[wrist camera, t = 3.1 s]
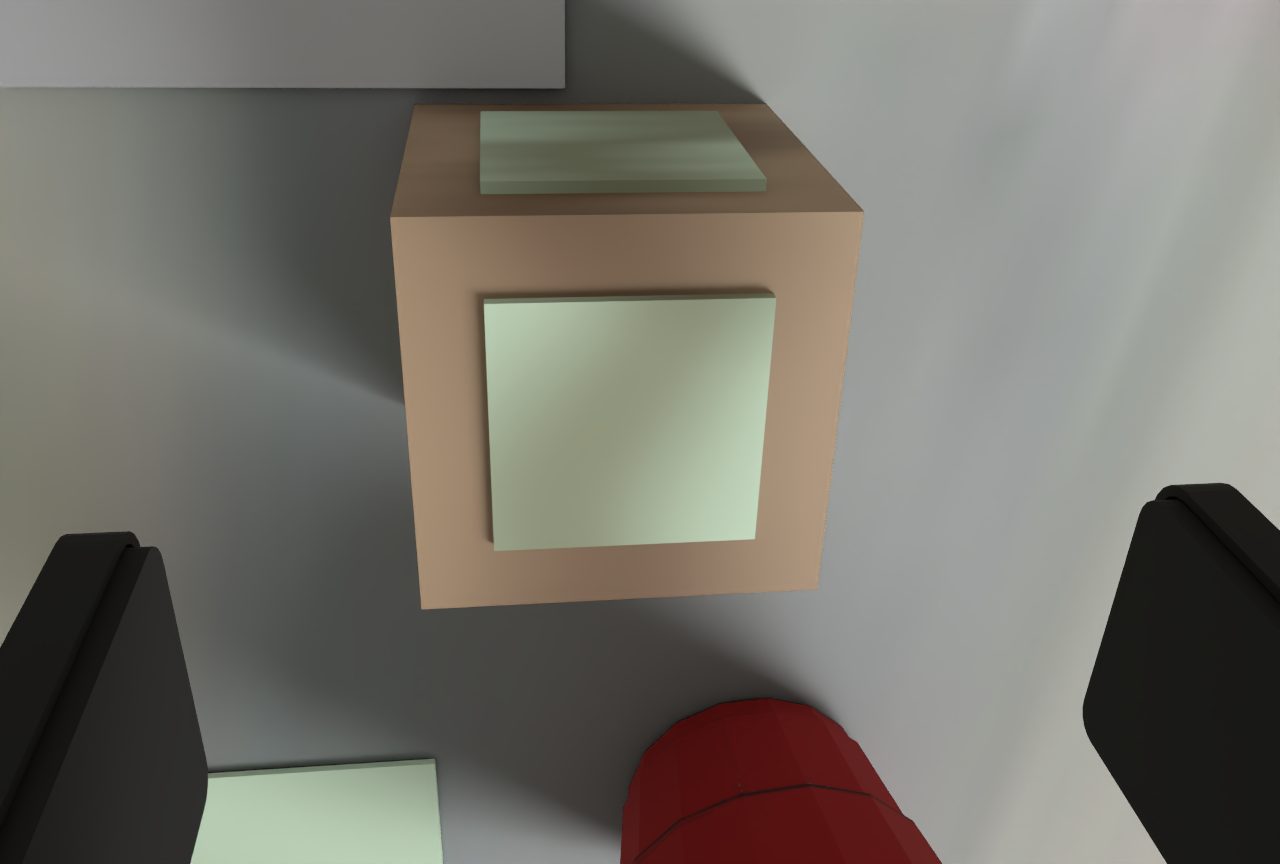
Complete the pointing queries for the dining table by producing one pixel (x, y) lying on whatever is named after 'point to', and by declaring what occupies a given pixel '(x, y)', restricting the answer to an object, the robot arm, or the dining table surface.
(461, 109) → the letter block
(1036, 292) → the dining table surface
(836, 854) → the plastic cup
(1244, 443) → the dining table surface
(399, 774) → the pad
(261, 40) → the grey pad
